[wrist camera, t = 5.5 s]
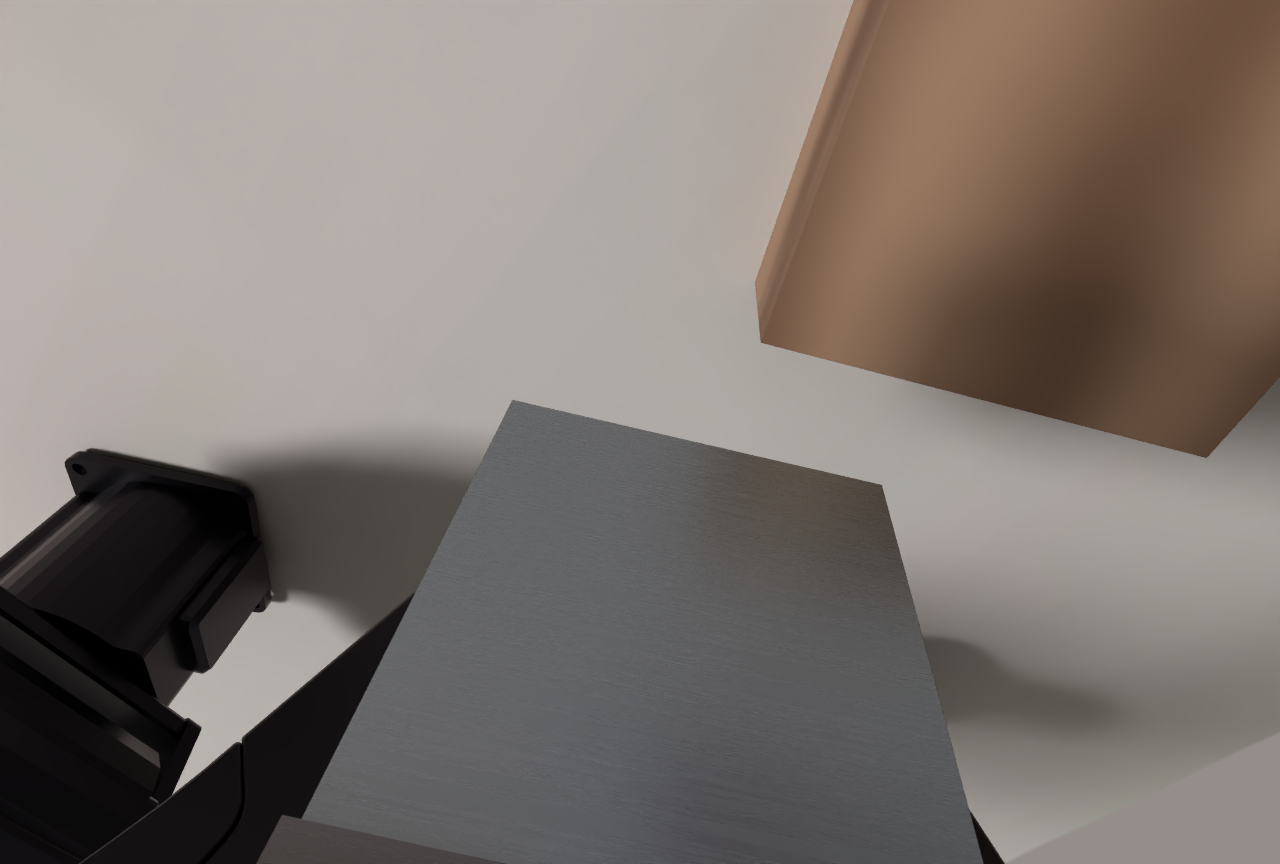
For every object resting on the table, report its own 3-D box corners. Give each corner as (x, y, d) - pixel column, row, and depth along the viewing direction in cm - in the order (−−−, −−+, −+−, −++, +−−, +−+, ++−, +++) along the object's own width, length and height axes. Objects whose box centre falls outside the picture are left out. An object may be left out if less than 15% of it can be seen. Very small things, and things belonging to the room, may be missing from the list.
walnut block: (754, 276, 19) (760, 342, 16) (943, -266, 13) (1018, -344, 10) (1125, 374, 20) (1206, 458, 16) (1481, -102, 13) (1728, -122, 10)
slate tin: (481, 638, 12) (305, 1111, 7) (504, 392, 9) (226, 917, 4) (771, 703, 12) (795, 1215, 7) (891, 480, 9) (1071, 1098, 4)
